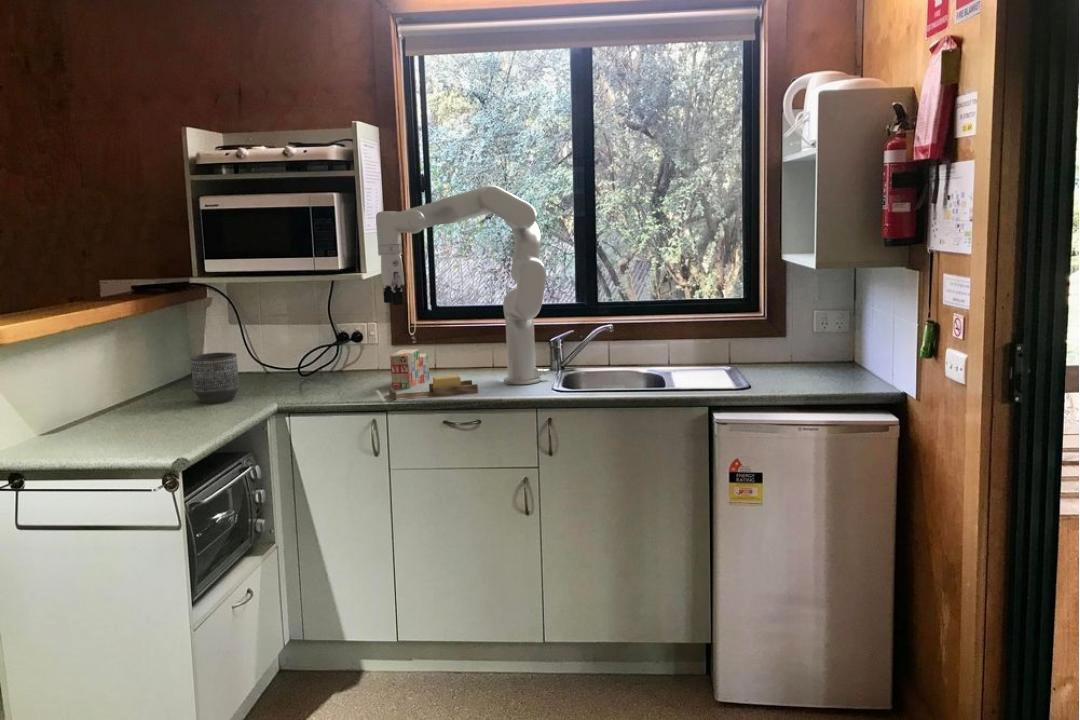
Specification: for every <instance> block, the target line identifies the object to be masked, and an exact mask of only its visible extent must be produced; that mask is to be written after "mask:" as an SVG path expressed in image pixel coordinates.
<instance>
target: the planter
mask: <svg viewBox="0 0 1080 720" xmlns="http://www.w3.org/2000/svg"><path fill="white" fill-rule="evenodd" d="M190 369H191V377H192V390H193V392H194V394H195V396H196V397H197V398H198V399H199V401H200V402H201V403H202V404H204V405H205V404H206V405H216V404H218V405H219V404H225V403H229V402H232V401H234V399H235V398H236V395H237V393H238V391H239V389H240V377H239V367H238V356H237V353H235V352H225V351H224V352H210V353H209V352H208V353H202V354H197V355H193V356H190Z"/></svg>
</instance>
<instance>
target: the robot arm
mask: <svg viewBox="0 0 1080 720" xmlns="http://www.w3.org/2000/svg"><path fill="white" fill-rule="evenodd" d="M491 213H492V214H493V215H495V216H497V217H499V218H500V219H502V220H503V221H504V223H505V224H506V226H508V227H509V228H510V229H511V230H512V232H513V235H514V250H513V255H512V261H511V262H512V263H511V269H510V275H511V279H512V280H513V281H514V282H515V283H516V288H513V289H510V290H509V291H508V292H507V293H505V294H506V295H504V299H503V302H502V305H503V315H504V322H505V339H506V361H507V376H506V377H504V378H503V383H505V384H509V385H531V384H536V383H540V382H541V380H542V378H541V376H542V375H544V376H545V375H547V376H548V375H550V369H549V368H539V367H537V366H536V345H535V344H536V342H535V324H534V319H535V318H536V317H537V316H538V314H539V313H540V311H541V308H542V306H543V302H544V294H545V289H546V282H547V270H546V267H545V264H544V263H543V262H542V261H541V260H540V252H541V251H540V249H541V243H542V242H541V239H542V238H541V232H540V229H539V225H538V224H537V221H536V220H537V211H536V209H535V207H534V206H533V205H532V204H531V203H529V202H527V201H526V200H523V199H521V198H520V197H518V196H517V195H514V194H513V193H511V192H509V191H506V190H505V189H504V188H501V187H499V186H496V185H489V186H482V187H479V188H475V189H472V190H467V191H465V192H462V193H458V194H455V195H451V196H450V195H449V196H447V197H444V198H441V199H439V200H436V201H432V202H429V203H426V204H422V205H418V206H414V207H412V208H411V207H410V208H408V209H405V210H403V211H402V210H401V211H396V210H389V211H388V210H385V211H384V210H383V211H379V212H377V213H376V214H375V225H376V240H377V253H378V254H377V256H379V257H380V273H381V274H380V275H381V283H382V286H383V287H382V290H383V291H382V293H383V303H385V304H387V303H388V304H390V303H392V305H393V306H401V305H403V304H404V303H403V299H404V298H403V288H402V287H403V286H404V285H405V277H404V276H405V275H404V269H403V268H404V267H403V261H402V256H401V255H403V248H402V247H403V246H402V245H403V244H402V233H403V234H404V233H407V234H418V233H420V232H422V231H423V230H424V229H426V228H427V229H428V228H431V227H435V226H439V225H448V224H450V225H451V224H455V223H459V222H461V221H466V220H469V219H473V218H476V217H479V216H482V215H486V214H491Z"/></svg>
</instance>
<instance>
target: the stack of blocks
mask: <svg viewBox="0 0 1080 720" xmlns="http://www.w3.org/2000/svg"><path fill="white" fill-rule="evenodd" d="M428 356H429V354H428V353H420V349H418V348H416V349H415V348H412V349H400V350H398V351H397V352H395V353H393V354H391V355H390V357H389V358H390V374H391V375H390V376H391V387H392V388H393V389H394V390H395V389H396V390H397V389H399V390H400V389H402V390H405V389H406V390H407V389H408V390H410V389H412V388H413V387H415V386H417V385H419V384H421V385H422V384H424V383H425V382H427V381H429V380H430V366H429V365H430V364H429V357H428Z"/></svg>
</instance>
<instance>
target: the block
mask: <svg viewBox="0 0 1080 720" xmlns="http://www.w3.org/2000/svg"><path fill="white" fill-rule="evenodd" d="M461 381H462V380H461V377H460V375H458V374H452V375H450V374H449V375H439V376H432V383H433V390H434V388H440V387H451V386H461Z"/></svg>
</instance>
